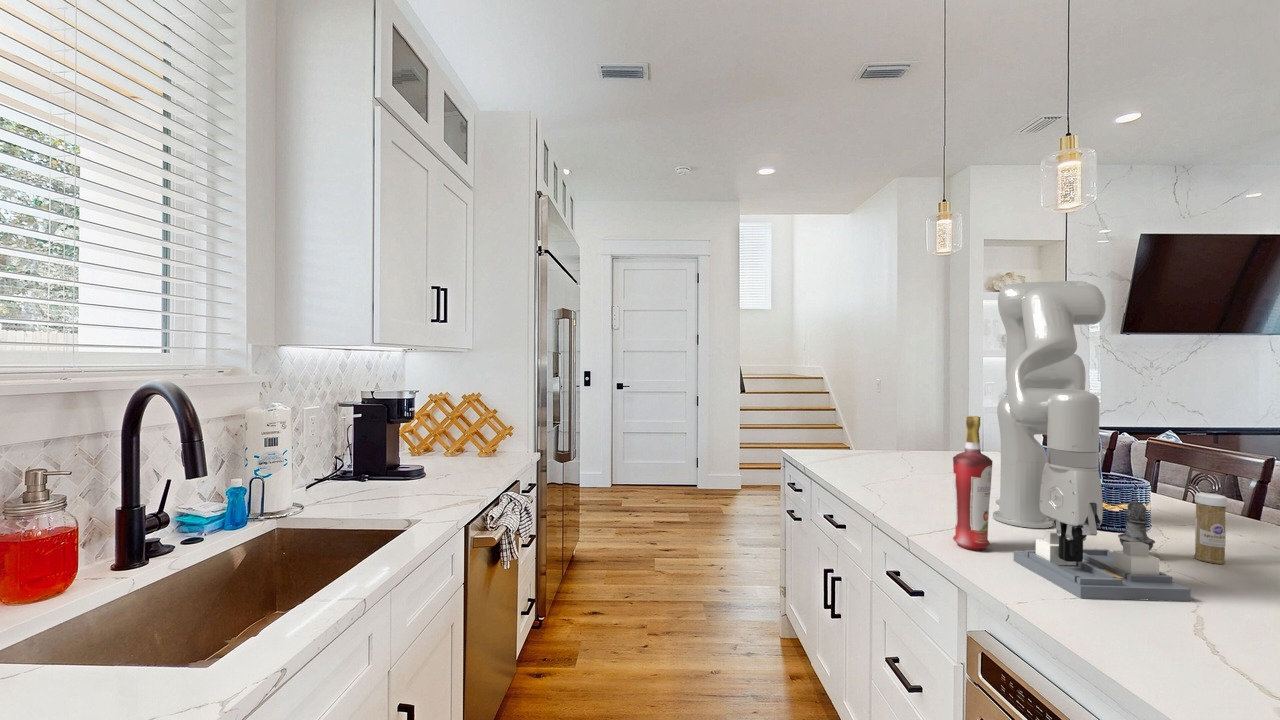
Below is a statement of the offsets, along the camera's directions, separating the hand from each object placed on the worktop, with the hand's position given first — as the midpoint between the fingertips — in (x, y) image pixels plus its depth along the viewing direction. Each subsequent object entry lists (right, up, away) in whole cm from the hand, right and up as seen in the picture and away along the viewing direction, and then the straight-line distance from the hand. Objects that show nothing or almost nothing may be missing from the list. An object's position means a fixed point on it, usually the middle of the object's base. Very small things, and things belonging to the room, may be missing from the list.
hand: (1070, 559), depth 104 cm
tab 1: (0, -2, +4) cm, 4 cm away
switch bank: (+5, -4, +1) cm, 6 cm away
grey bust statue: (+24, -4, +14) cm, 29 cm away
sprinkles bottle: (+37, -5, +12) cm, 39 cm away
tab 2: (+10, -2, -2) cm, 10 cm away
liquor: (-8, -4, +18) cm, 20 cm away
